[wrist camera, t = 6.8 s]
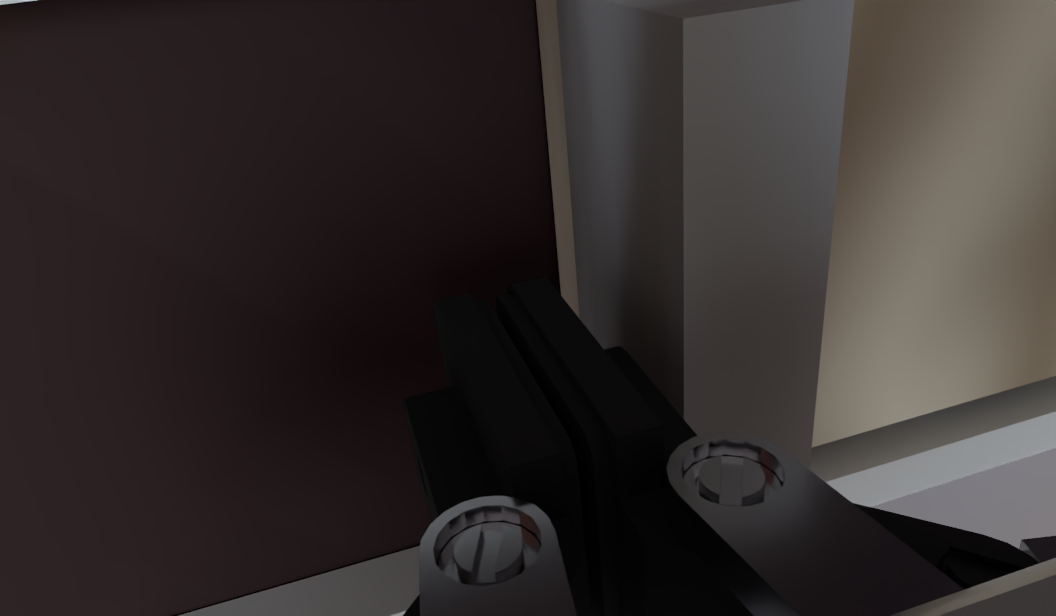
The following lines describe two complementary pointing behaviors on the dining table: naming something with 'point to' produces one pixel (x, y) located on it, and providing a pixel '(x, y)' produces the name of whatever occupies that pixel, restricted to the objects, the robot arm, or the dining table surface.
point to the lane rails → (846, 465)
